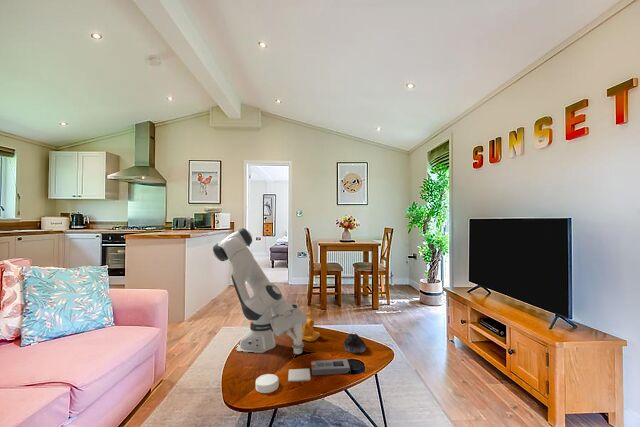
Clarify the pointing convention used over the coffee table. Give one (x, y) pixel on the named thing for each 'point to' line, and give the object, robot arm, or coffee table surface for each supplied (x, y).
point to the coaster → (267, 383)
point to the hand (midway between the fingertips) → (298, 336)
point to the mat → (299, 375)
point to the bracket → (309, 331)
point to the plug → (298, 341)
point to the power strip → (330, 367)
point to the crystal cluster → (354, 344)
